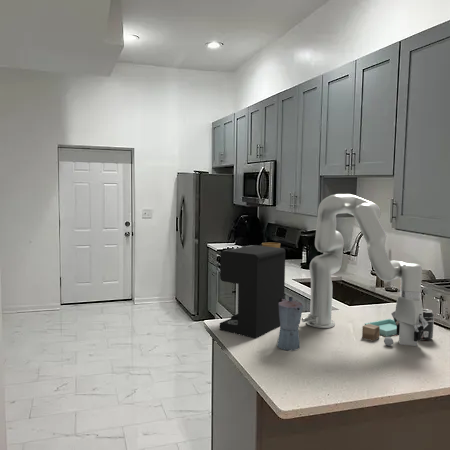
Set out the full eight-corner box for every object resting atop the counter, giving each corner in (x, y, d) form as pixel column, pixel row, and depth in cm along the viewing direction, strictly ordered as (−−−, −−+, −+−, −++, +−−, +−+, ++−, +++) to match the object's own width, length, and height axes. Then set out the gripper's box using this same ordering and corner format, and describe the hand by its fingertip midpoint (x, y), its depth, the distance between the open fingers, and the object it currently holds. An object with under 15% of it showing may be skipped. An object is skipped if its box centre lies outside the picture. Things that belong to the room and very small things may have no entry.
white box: (417, 346, 181) (418, 321, 180) (399, 343, 184) (400, 319, 183) (416, 343, 185) (418, 318, 184) (398, 341, 187) (399, 317, 186)
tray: (386, 336, 192) (386, 331, 192) (364, 328, 203) (364, 323, 203) (411, 330, 200) (411, 325, 200) (389, 323, 211) (389, 318, 210)
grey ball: (388, 347, 179) (389, 339, 179) (381, 345, 182) (382, 336, 182) (395, 346, 181) (395, 337, 181) (387, 343, 184) (388, 335, 184)
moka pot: (288, 355, 170) (290, 302, 168) (266, 342, 184) (267, 293, 182) (309, 351, 175) (311, 299, 173) (286, 338, 188) (287, 290, 186)
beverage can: (413, 335, 195) (415, 307, 194) (431, 336, 193) (432, 308, 192) (415, 340, 188) (417, 311, 187) (433, 342, 186) (435, 313, 185)
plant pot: (281, 262, 375) (281, 242, 374) (278, 265, 361) (278, 244, 359) (263, 261, 379) (263, 241, 378) (259, 263, 365) (260, 243, 364)
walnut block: (373, 340, 187) (373, 329, 187) (362, 337, 191) (362, 326, 190) (379, 338, 191) (379, 326, 190) (368, 335, 194) (368, 323, 194)
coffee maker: (252, 315, 222) (253, 243, 219) (288, 322, 211) (290, 246, 208) (218, 329, 199) (218, 249, 196) (256, 338, 188) (258, 254, 185)
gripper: (386, 291, 188) (384, 333, 190) (423, 300, 173) (420, 346, 175) (398, 289, 192) (396, 330, 193) (435, 298, 177) (433, 342, 178)
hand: (408, 337), depth 184 cm, fingers closed on white box, 7 cm apart
